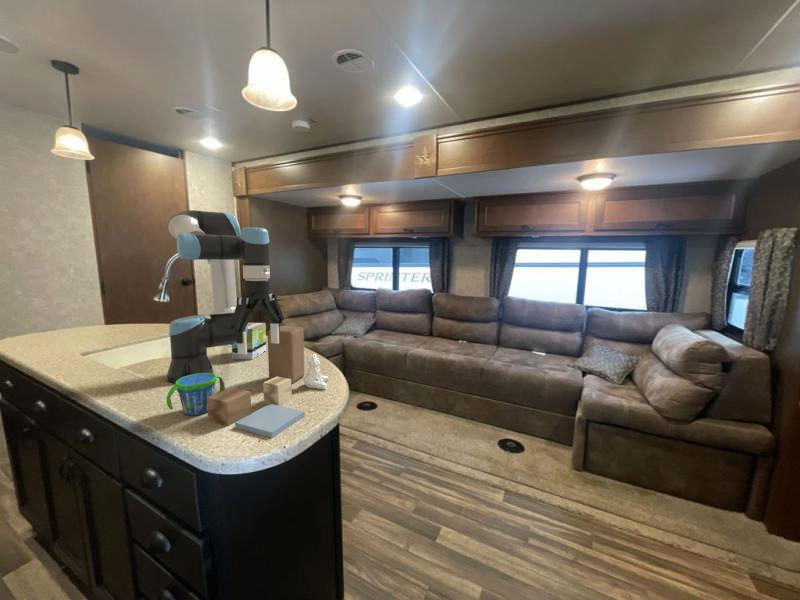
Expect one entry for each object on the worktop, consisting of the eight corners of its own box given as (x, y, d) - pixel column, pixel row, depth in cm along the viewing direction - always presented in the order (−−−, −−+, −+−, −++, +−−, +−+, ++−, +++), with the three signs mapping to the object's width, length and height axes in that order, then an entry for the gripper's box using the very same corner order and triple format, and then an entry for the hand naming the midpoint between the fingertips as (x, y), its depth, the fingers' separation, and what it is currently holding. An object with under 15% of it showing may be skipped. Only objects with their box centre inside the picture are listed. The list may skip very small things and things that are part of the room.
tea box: (253, 360, 150) (252, 328, 148) (231, 359, 150) (230, 328, 148) (267, 351, 165) (266, 322, 163) (247, 350, 165) (246, 321, 163)
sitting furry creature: (326, 390, 117) (326, 357, 115) (301, 391, 115) (301, 358, 114) (328, 380, 126) (328, 350, 124) (305, 381, 125) (304, 350, 123)
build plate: (235, 427, 90) (235, 422, 90) (270, 408, 102) (270, 403, 102) (272, 437, 85) (272, 432, 85) (304, 416, 97) (304, 411, 97)
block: (292, 385, 121) (291, 331, 118) (268, 382, 123) (266, 330, 120) (305, 375, 131) (304, 326, 128) (282, 373, 132) (281, 325, 130)
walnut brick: (208, 420, 94) (206, 397, 93) (231, 409, 101) (230, 387, 100) (228, 426, 91) (227, 402, 90) (251, 414, 98) (250, 391, 97)
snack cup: (174, 426, 90) (171, 390, 89) (162, 414, 97) (160, 381, 96) (232, 407, 102) (231, 376, 101) (218, 398, 109) (217, 368, 108)
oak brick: (264, 403, 105) (263, 382, 104) (277, 396, 111) (276, 376, 110) (278, 406, 103) (278, 385, 102) (291, 399, 109) (291, 379, 108)
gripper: (233, 282, 86) (236, 360, 89) (293, 278, 110) (295, 340, 112) (211, 281, 89) (216, 357, 91) (275, 277, 112) (277, 338, 115)
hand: (259, 348), depth 102 cm, fingers open, 13 cm apart
